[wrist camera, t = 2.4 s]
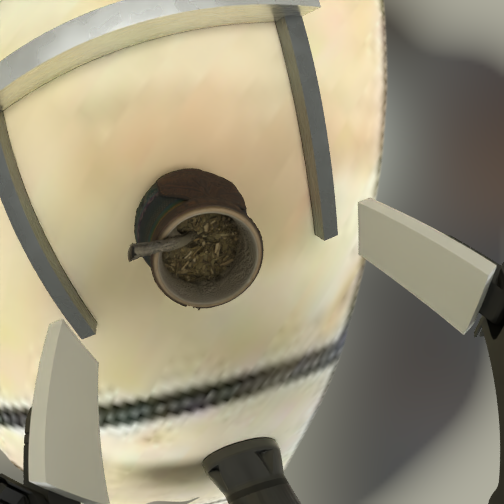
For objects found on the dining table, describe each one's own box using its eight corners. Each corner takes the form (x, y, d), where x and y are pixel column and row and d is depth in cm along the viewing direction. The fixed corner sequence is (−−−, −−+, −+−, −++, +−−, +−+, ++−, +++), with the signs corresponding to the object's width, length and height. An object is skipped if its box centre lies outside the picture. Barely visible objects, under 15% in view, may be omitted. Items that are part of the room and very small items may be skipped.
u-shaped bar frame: (328, 228, 25) (355, 246, 22) (83, 327, 20) (79, 360, 16) (286, 2, 14) (313, -15, 11) (-16, 99, 9) (-43, 97, 6)
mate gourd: (215, 265, 22) (265, 351, 14) (122, 248, 18) (116, 343, 10) (245, 179, 20) (324, 224, 12) (146, 152, 16) (146, 174, 8)
